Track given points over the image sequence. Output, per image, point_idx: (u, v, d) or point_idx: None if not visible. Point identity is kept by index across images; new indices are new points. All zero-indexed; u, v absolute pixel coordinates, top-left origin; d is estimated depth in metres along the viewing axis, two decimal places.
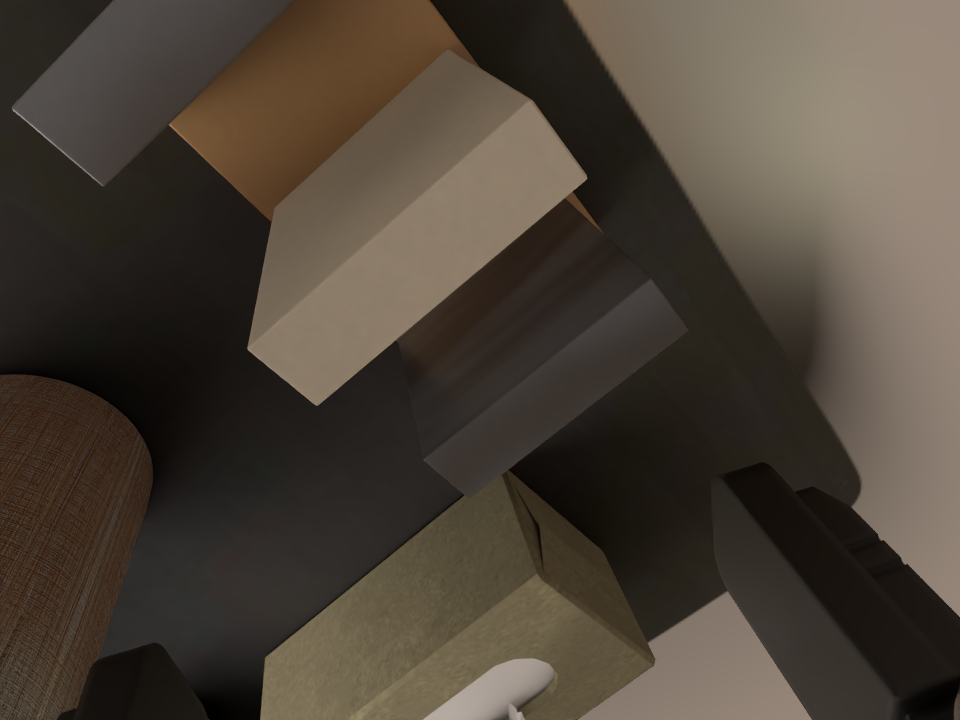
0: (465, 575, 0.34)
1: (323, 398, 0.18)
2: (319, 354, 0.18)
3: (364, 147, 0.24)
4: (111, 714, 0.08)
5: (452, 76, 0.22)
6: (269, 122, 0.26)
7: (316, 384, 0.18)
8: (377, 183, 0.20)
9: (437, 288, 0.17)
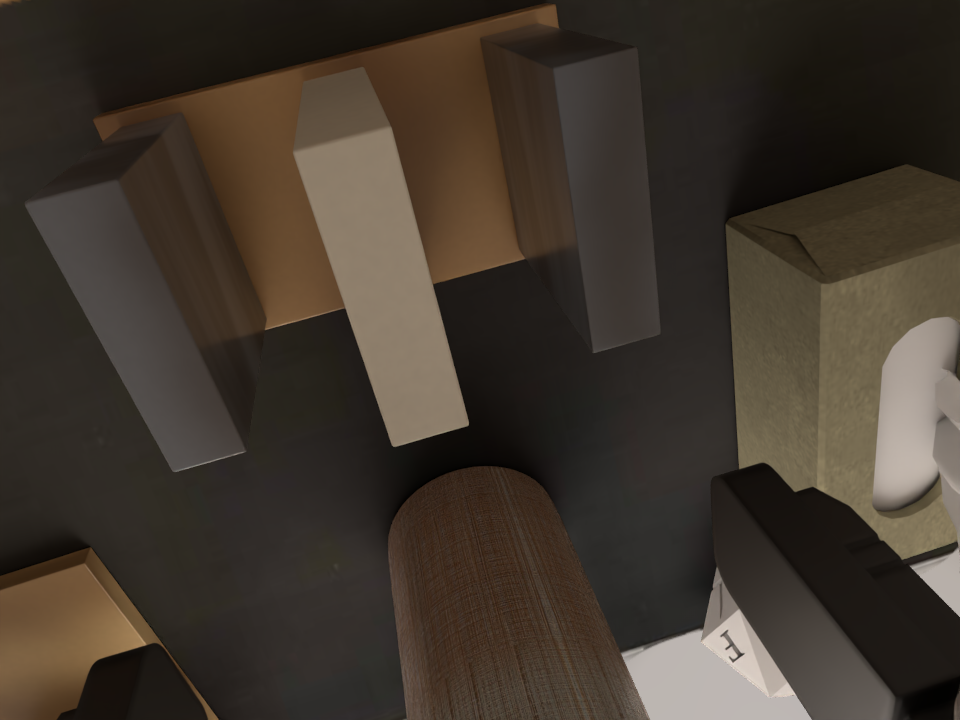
0: (783, 330, 0.32)
1: (465, 418, 0.21)
2: (426, 404, 0.21)
3: None
4: (111, 714, 0.08)
5: None
6: (301, 259, 0.30)
7: (450, 418, 0.21)
8: None
9: (421, 298, 0.19)
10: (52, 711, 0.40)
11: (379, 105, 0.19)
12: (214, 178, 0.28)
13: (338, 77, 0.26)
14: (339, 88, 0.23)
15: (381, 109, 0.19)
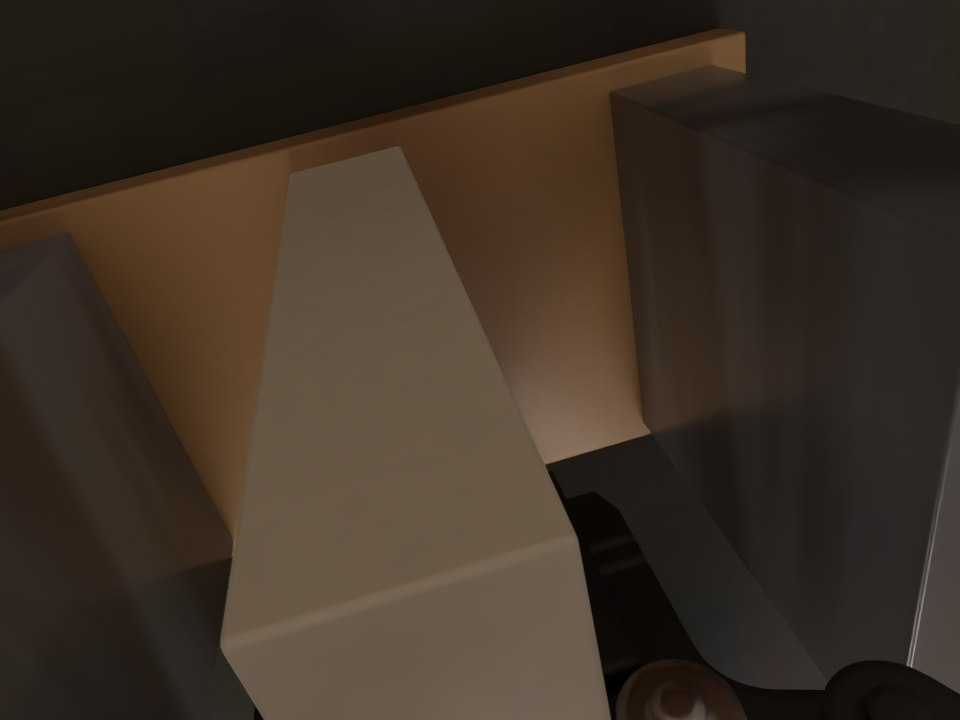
0: None
1: None
2: None
3: None
4: None
5: None
6: None
7: None
8: None
9: None
10: None
11: (480, 334, 0.07)
12: (134, 338, 0.16)
13: (355, 173, 0.14)
14: (360, 215, 0.11)
15: (494, 366, 0.07)
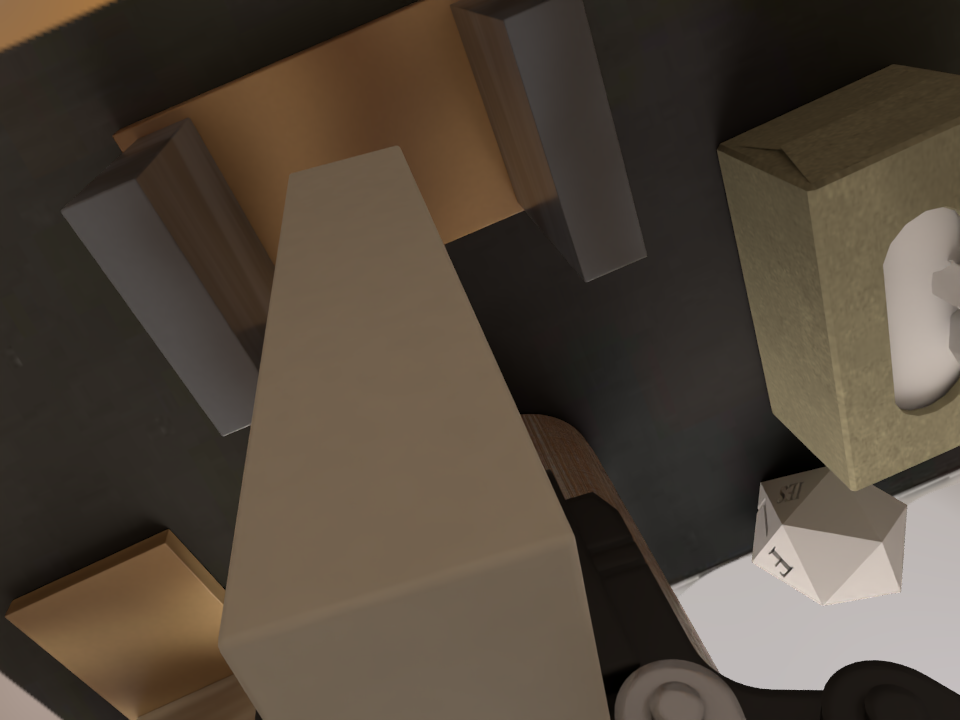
0: (783, 243, 0.33)
1: None
2: None
3: None
4: None
5: None
6: None
7: None
8: None
9: None
10: (157, 681, 0.44)
11: (478, 333, 0.07)
12: (226, 174, 0.30)
13: (354, 172, 0.14)
14: (359, 215, 0.11)
15: (493, 365, 0.07)
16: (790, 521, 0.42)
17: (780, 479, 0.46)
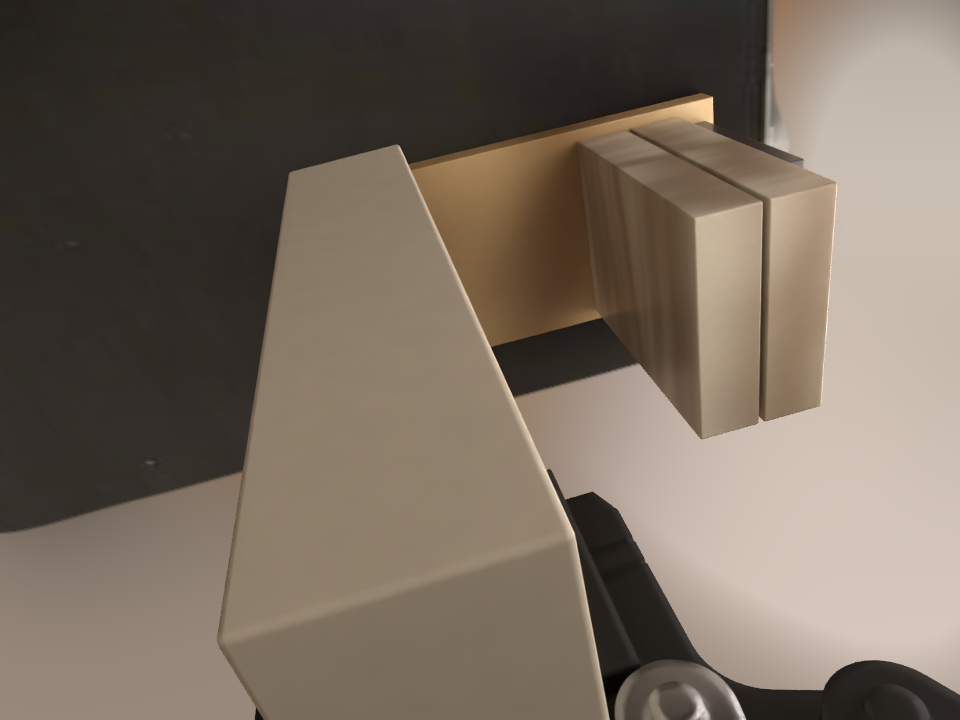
0: None
1: None
2: None
3: None
4: None
5: None
6: None
7: None
8: None
9: None
10: (551, 272, 0.36)
11: (478, 331, 0.07)
12: None
13: (354, 171, 0.14)
14: (359, 213, 0.11)
15: (492, 363, 0.07)
16: None
17: None
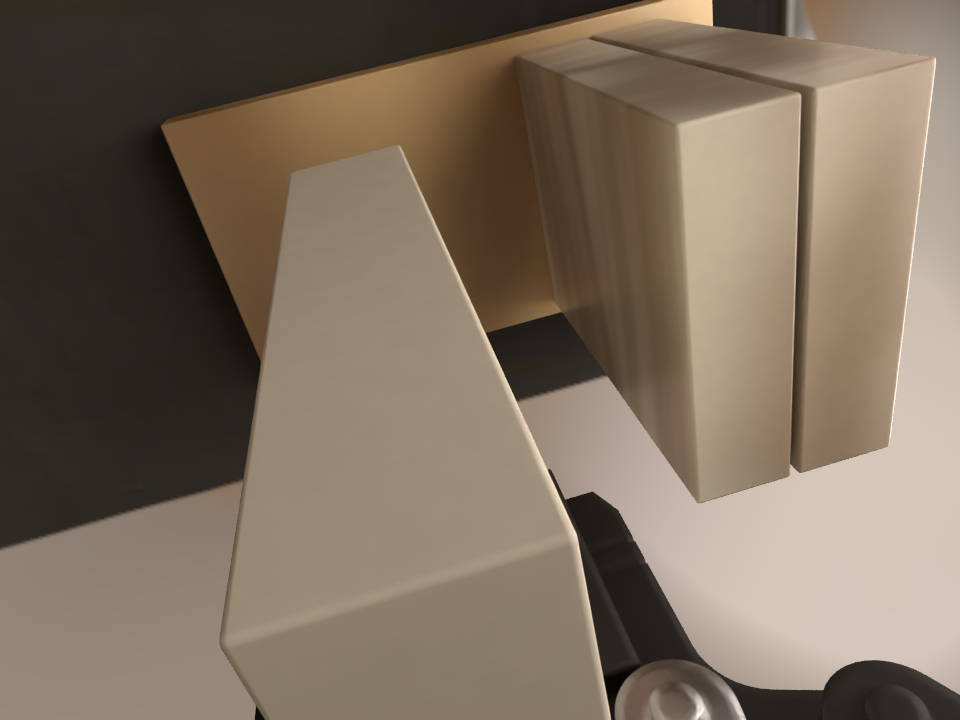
0: None
1: None
2: None
3: None
4: None
5: None
6: None
7: None
8: None
9: None
10: (488, 248, 0.26)
11: (479, 332, 0.07)
12: None
13: (355, 172, 0.14)
14: (360, 214, 0.11)
15: (494, 364, 0.07)
16: None
17: None
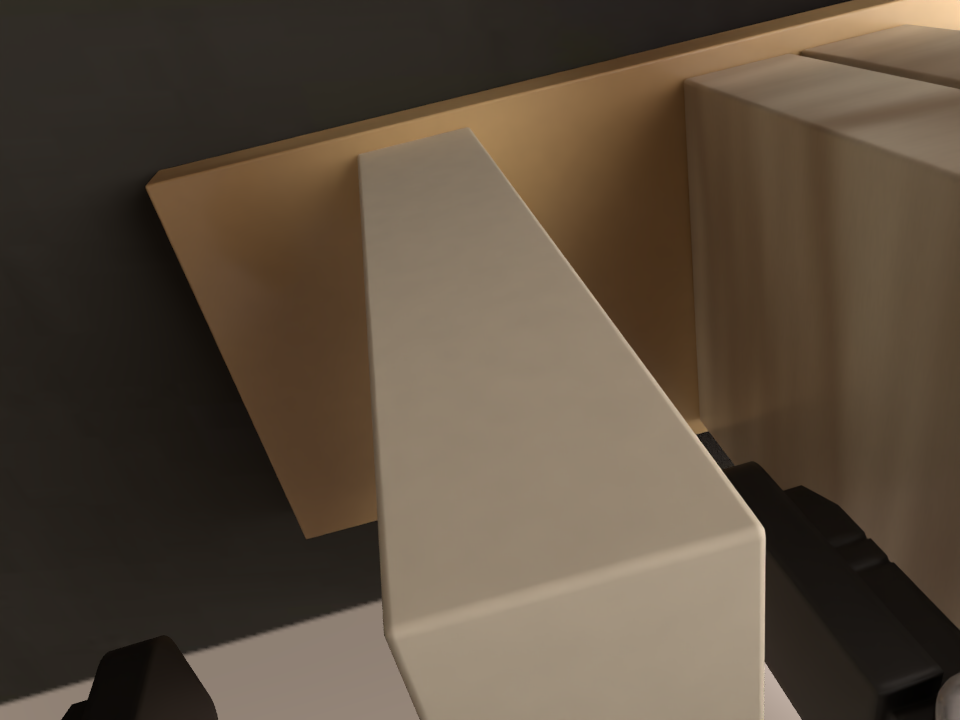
0: None
1: None
2: None
3: None
4: (122, 705, 0.08)
5: None
6: None
7: None
8: None
9: None
10: None
11: (602, 314, 0.07)
12: None
13: (428, 153, 0.13)
14: (443, 195, 0.11)
15: (627, 347, 0.06)
16: None
17: None
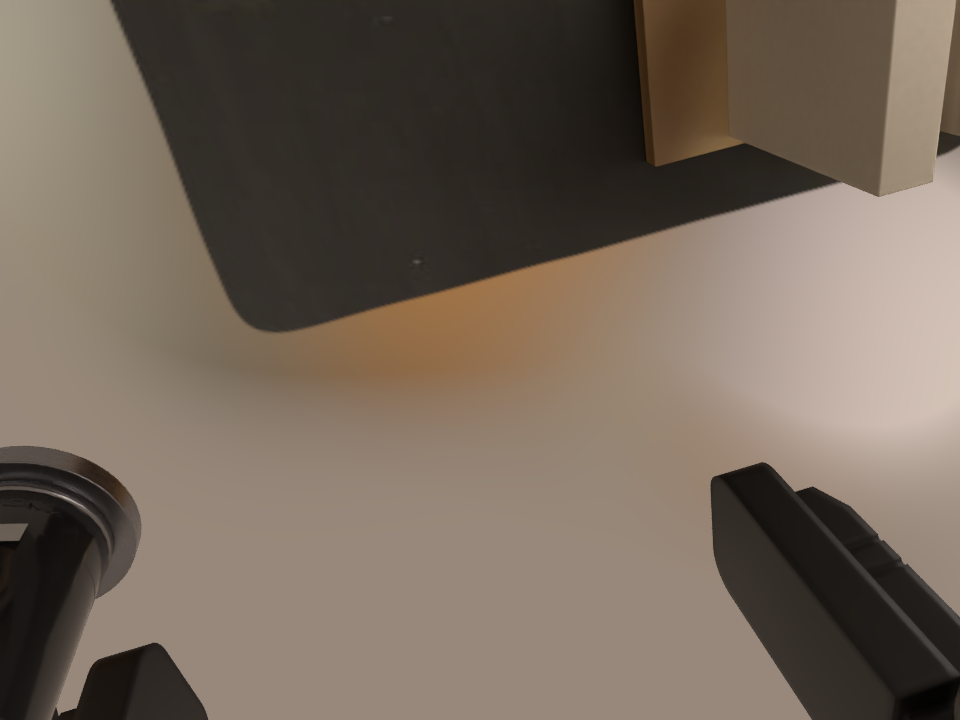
0: None
1: (932, 175, 0.28)
2: (912, 160, 0.28)
3: (760, 53, 0.33)
4: (111, 714, 0.08)
5: None
6: None
7: (923, 173, 0.28)
8: (827, 63, 0.29)
9: (939, 66, 0.26)
10: None
11: None
12: None
13: None
14: None
15: None
16: None
17: None
